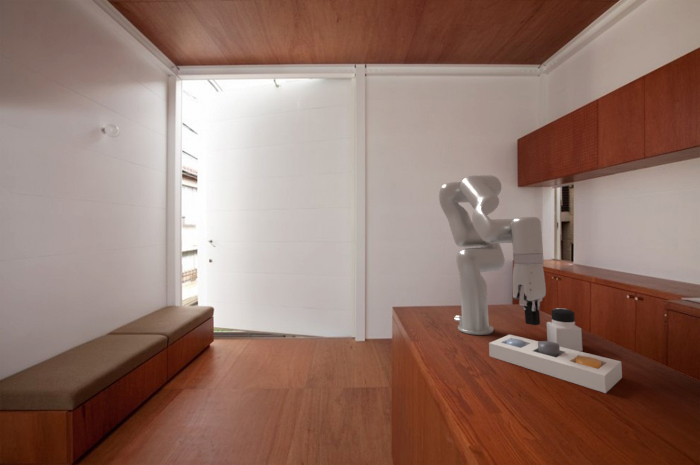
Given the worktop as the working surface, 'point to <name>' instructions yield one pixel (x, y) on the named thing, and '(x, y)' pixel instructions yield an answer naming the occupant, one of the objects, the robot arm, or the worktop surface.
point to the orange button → (588, 361)
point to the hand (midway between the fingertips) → (532, 323)
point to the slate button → (515, 342)
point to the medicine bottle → (564, 330)
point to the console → (559, 363)
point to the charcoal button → (549, 348)
